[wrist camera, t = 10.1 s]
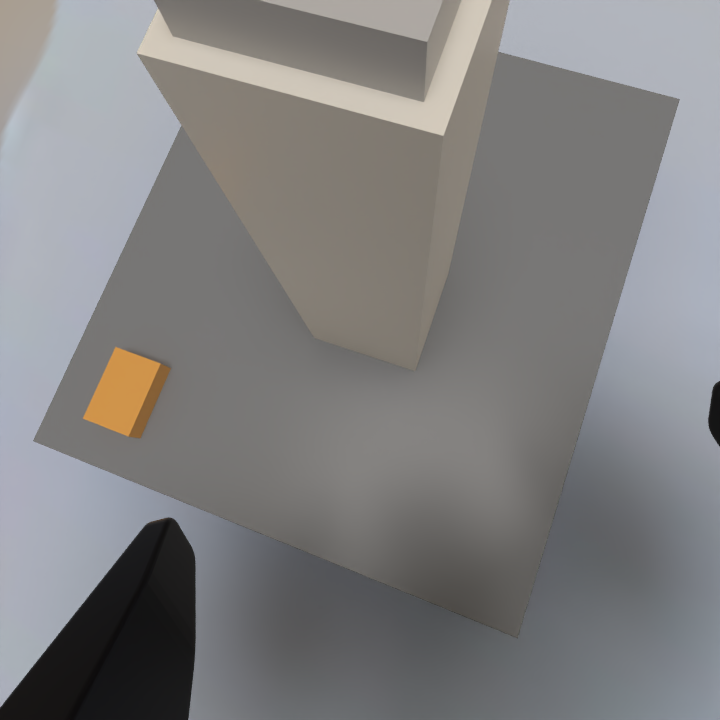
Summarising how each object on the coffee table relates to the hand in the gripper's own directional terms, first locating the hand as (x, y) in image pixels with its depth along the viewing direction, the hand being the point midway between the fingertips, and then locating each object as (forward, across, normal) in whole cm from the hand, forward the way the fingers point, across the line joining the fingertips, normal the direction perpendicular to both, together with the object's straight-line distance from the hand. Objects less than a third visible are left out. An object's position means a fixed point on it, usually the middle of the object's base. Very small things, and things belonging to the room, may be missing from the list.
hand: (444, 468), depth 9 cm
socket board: (+13, 0, +3) cm, 13 cm away
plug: (+10, 0, +2) cm, 10 cm away
